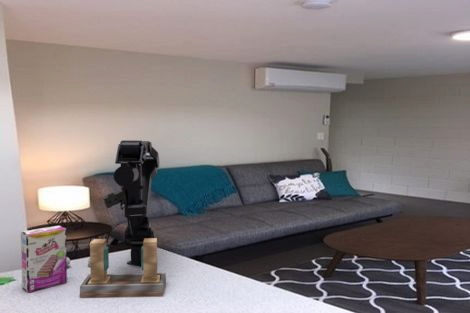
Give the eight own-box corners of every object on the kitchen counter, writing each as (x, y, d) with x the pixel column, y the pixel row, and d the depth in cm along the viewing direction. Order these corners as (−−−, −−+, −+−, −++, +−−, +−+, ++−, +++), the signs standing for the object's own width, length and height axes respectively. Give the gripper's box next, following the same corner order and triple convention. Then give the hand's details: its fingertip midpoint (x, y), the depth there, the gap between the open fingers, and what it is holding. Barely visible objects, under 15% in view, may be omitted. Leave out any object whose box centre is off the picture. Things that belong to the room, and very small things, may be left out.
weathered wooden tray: (79, 297, 116) (78, 246, 115) (89, 283, 126) (88, 236, 125) (162, 296, 117) (162, 245, 116) (166, 282, 127) (165, 235, 126)
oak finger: (160, 281, 125) (159, 237, 124) (159, 288, 120) (158, 242, 119) (142, 282, 124) (141, 238, 123) (140, 289, 119) (140, 243, 118)
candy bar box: (28, 293, 118) (25, 234, 117) (21, 288, 122) (19, 231, 120) (68, 282, 126) (66, 227, 125) (61, 278, 130) (59, 224, 128)
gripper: (102, 179, 137) (103, 228, 138) (105, 187, 119) (106, 243, 120) (138, 178, 141) (139, 225, 142) (146, 185, 123) (147, 239, 124)
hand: (132, 233), depth 132 cm, fingers open, 9 cm apart
